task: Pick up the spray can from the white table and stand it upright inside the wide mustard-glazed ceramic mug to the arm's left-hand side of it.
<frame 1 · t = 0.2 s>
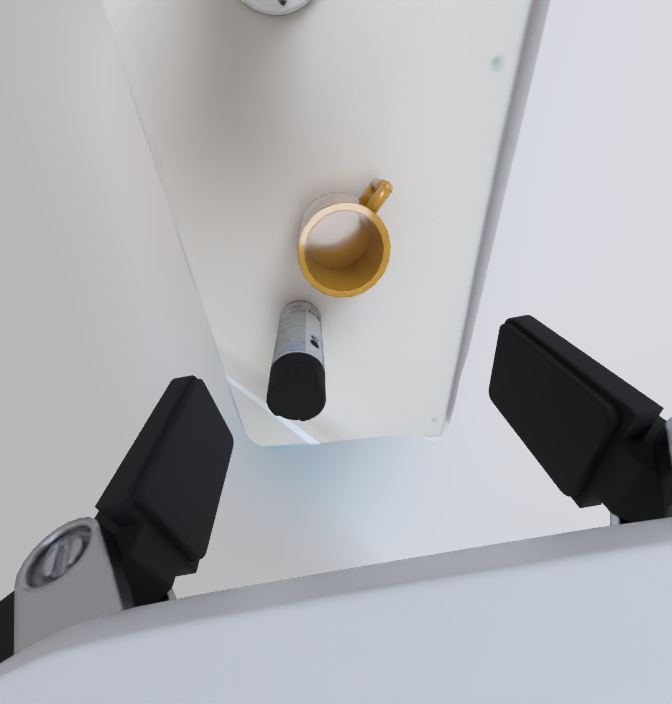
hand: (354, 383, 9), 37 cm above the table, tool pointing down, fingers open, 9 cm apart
spray can: (300, 317, 49), on the table
mug: (336, 234, 42), on the table
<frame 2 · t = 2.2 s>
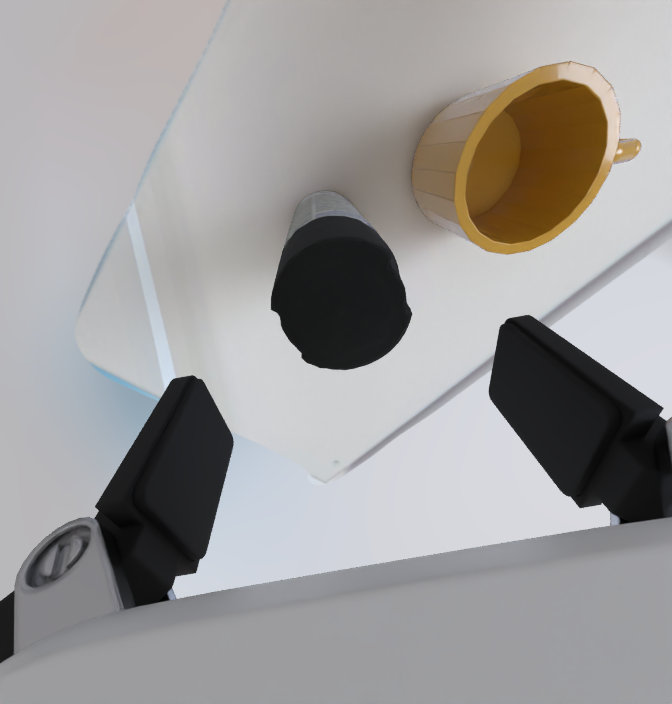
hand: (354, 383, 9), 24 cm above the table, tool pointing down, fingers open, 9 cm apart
spray can: (324, 226, 30), on the table
mug: (466, 167, 28), on the table
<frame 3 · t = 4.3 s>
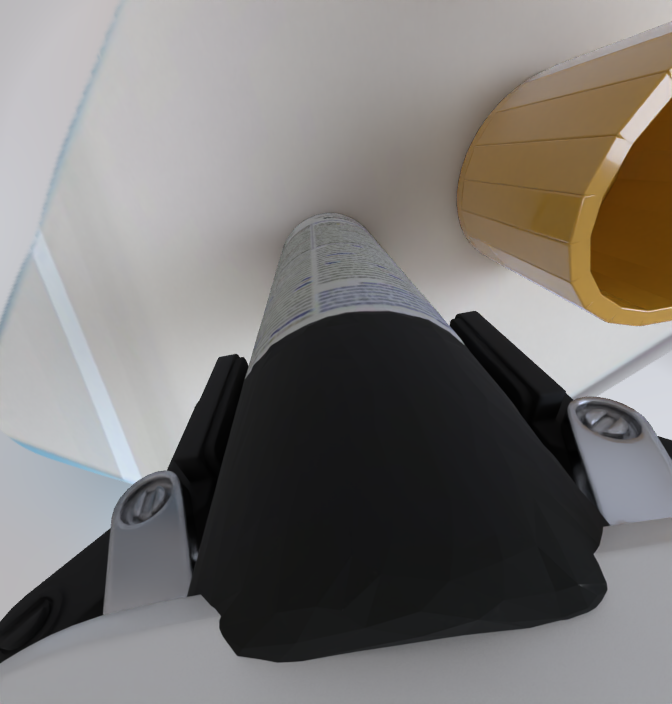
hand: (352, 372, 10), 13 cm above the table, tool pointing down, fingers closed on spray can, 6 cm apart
spray can: (328, 261, 21), on the table, touching gripper
mug: (538, 178, 19), on the table
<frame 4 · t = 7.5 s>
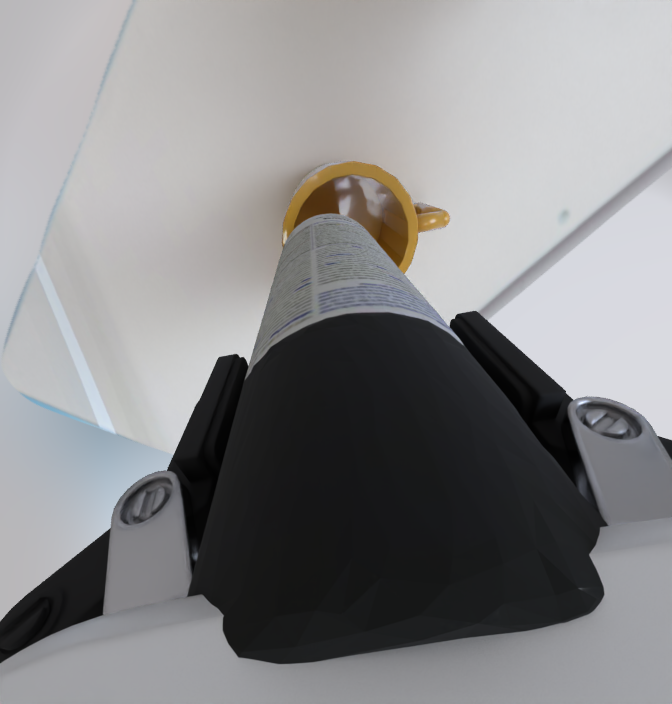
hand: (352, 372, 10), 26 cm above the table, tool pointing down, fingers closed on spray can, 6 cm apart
spray can: (328, 261, 21), point 13 cm above the table, touching gripper
mug: (338, 221, 31), on the table
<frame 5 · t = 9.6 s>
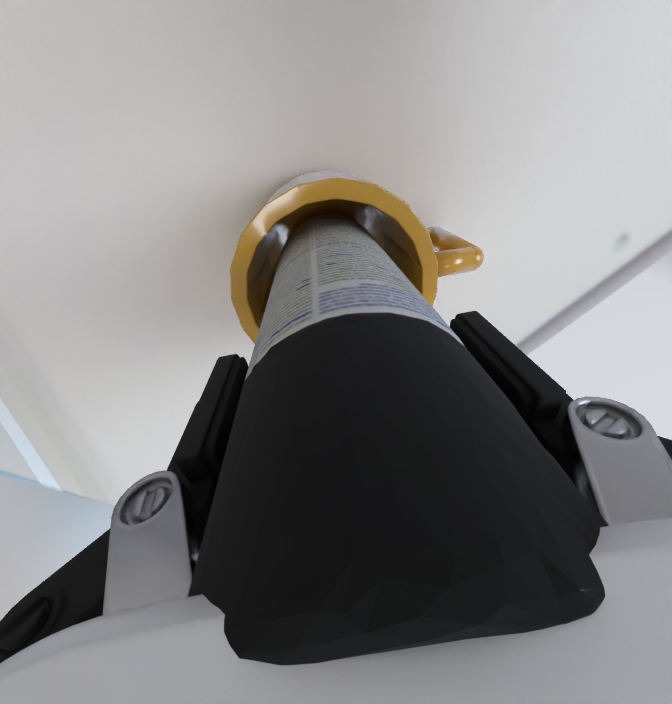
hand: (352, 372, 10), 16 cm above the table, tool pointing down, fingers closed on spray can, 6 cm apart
spray can: (328, 261, 21), point 3 cm above the table, touching gripper
mug: (326, 248, 24), on the table
when the fingers open (14 cm above the table, at t = 11.0 s): spray can stays where it is, resting on mug.
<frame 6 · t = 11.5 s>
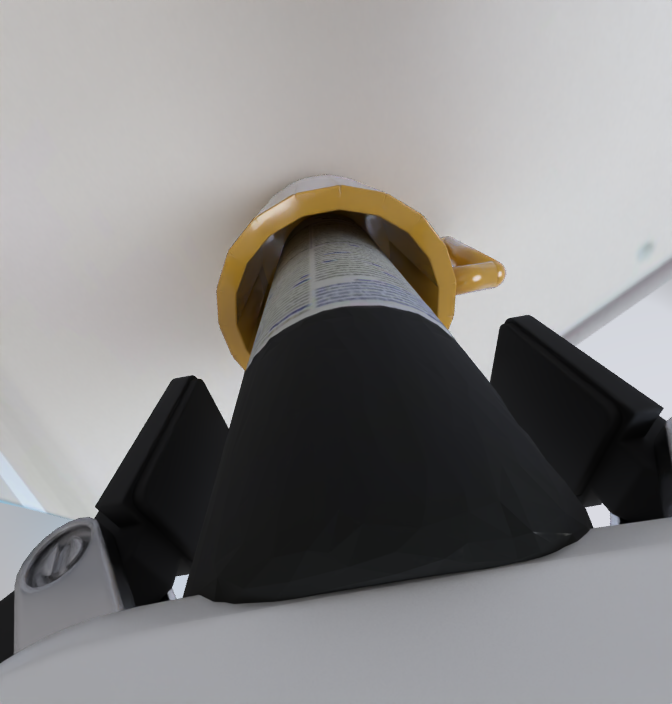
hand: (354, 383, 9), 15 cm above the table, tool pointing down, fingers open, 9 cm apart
spray can: (327, 261, 21), point 1 cm above the table, touching mug
mug: (326, 258, 22), on the table
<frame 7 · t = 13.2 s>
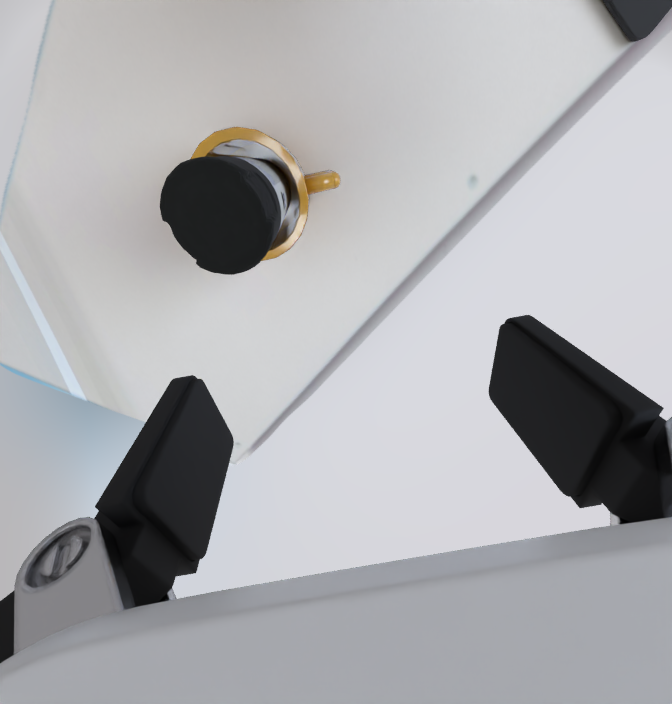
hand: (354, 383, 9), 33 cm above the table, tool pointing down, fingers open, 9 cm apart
spray can: (262, 191, 34), point 1 cm above the table, touching mug
mug: (262, 191, 35), on the table
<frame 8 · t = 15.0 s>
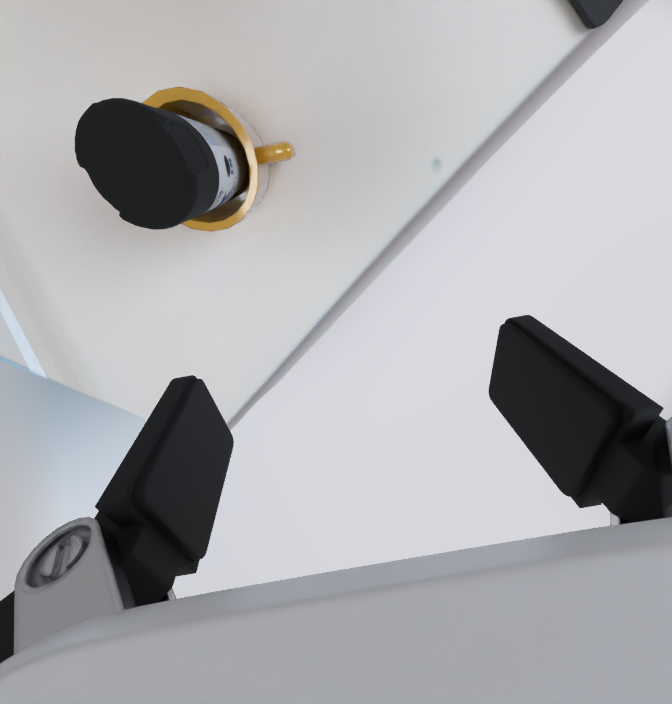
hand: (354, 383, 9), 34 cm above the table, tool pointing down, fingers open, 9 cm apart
spray can: (222, 165, 34), point 1 cm above the table, touching mug
mug: (223, 165, 34), on the table
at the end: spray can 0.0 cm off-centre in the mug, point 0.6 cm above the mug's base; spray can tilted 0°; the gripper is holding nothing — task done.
